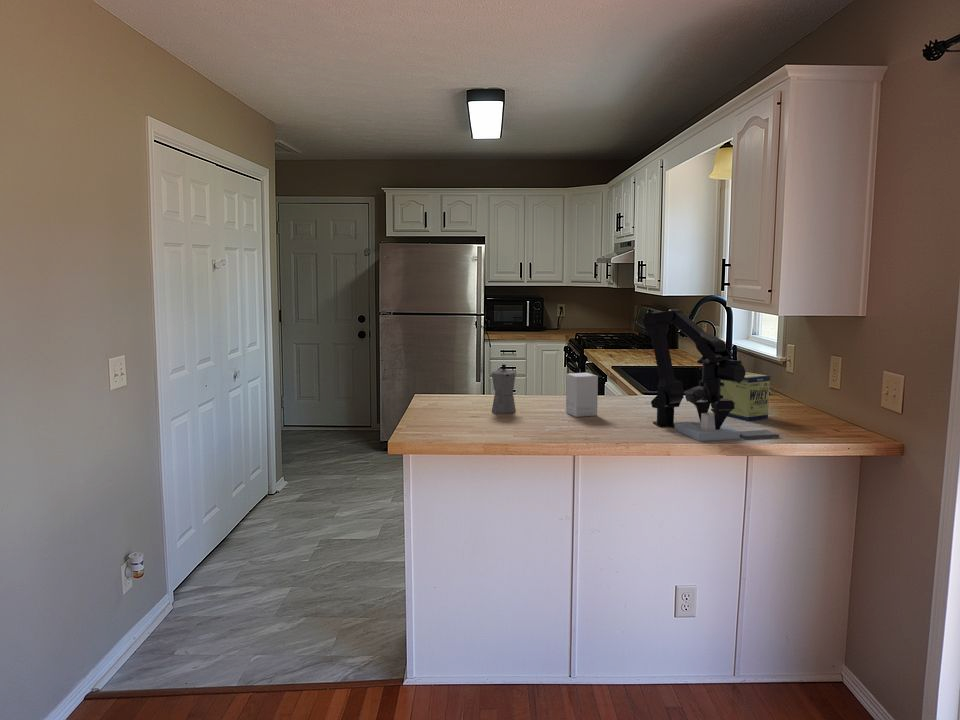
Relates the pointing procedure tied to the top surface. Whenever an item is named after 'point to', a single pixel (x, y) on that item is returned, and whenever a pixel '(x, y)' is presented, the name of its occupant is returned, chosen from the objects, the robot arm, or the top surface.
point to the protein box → (748, 396)
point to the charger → (707, 421)
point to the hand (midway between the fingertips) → (709, 426)
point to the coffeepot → (503, 391)
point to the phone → (757, 434)
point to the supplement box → (581, 394)
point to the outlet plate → (702, 435)
